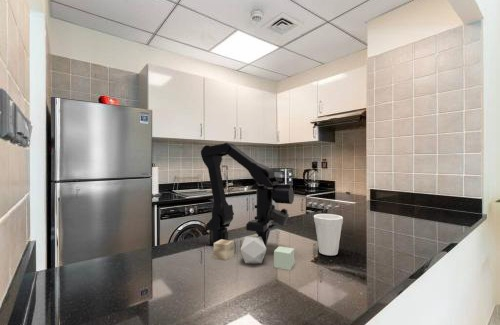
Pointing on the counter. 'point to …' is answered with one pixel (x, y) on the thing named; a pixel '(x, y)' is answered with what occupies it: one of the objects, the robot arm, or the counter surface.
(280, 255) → the sage block
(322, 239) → the cup
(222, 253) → the birch block
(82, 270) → the counter surface
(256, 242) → the die
